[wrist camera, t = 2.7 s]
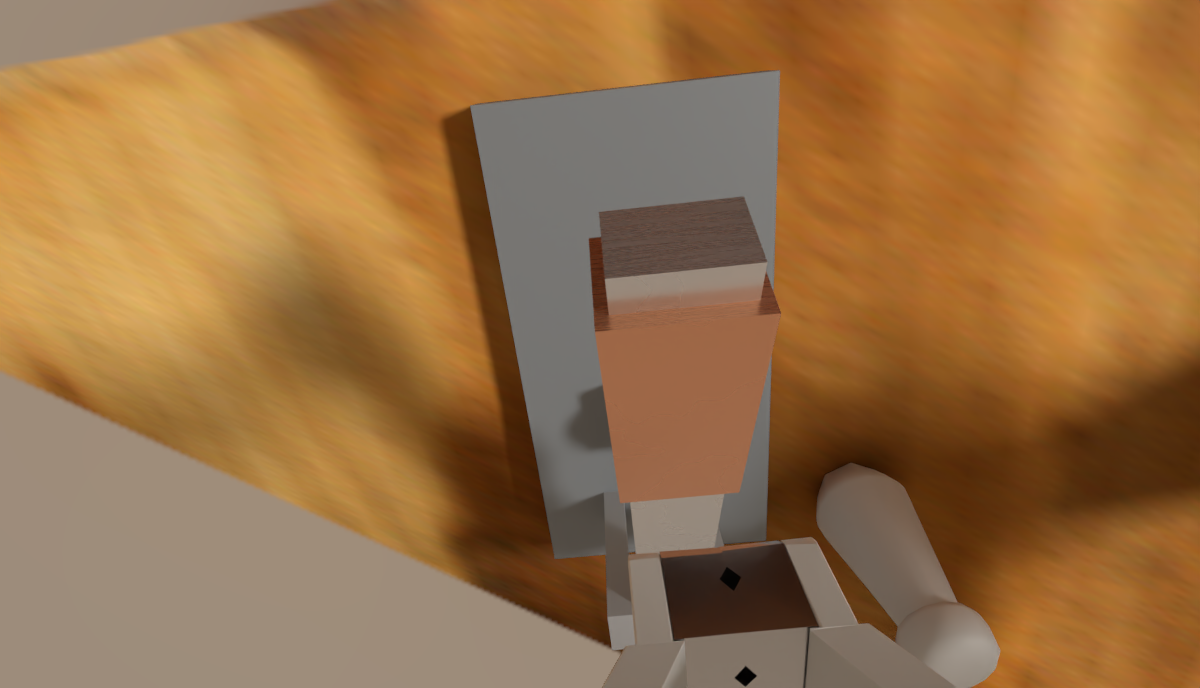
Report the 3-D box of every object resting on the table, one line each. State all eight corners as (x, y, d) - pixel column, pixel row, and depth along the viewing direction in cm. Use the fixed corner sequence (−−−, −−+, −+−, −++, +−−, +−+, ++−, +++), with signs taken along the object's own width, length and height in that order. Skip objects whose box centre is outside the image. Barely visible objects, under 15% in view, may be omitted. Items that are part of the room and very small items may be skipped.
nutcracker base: (758, 518, 39) (814, 670, 29) (556, 536, 40) (544, 691, 30) (767, 70, 27) (868, 69, 17) (478, 103, 28) (414, 120, 18)
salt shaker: (886, 517, 39) (1012, 706, 28) (803, 525, 40) (892, 716, 28) (896, 448, 37) (1038, 623, 25) (807, 457, 37) (907, 635, 25)
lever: (696, 562, 32) (708, 630, 30) (633, 567, 32) (639, 635, 30) (747, 166, 12) (790, 279, 10) (582, 184, 12) (589, 300, 10)
